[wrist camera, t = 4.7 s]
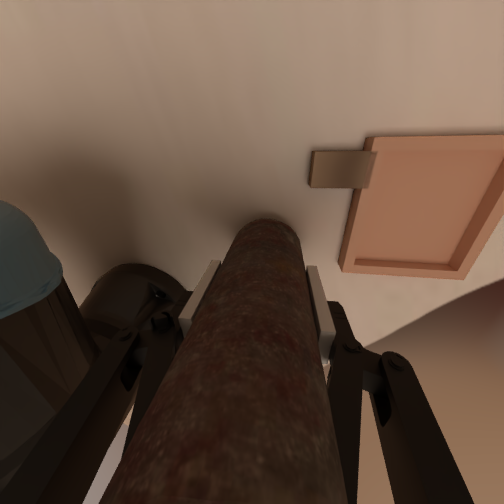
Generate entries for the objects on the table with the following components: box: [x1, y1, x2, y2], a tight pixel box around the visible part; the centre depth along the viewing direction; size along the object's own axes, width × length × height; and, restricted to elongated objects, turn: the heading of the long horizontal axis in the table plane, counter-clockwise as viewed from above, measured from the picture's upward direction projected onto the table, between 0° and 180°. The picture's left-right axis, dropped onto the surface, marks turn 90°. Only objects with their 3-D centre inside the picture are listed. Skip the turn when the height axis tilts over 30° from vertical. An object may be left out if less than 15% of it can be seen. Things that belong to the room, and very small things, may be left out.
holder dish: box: [338, 135, 504, 280], centre depth 19 cm, size 12×13×2 cm
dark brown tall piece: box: [99, 219, 348, 504], centre depth 14 cm, size 8×7×20 cm
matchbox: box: [308, 151, 378, 189], centre depth 18 cm, size 5×3×2 cm, turn 92°
